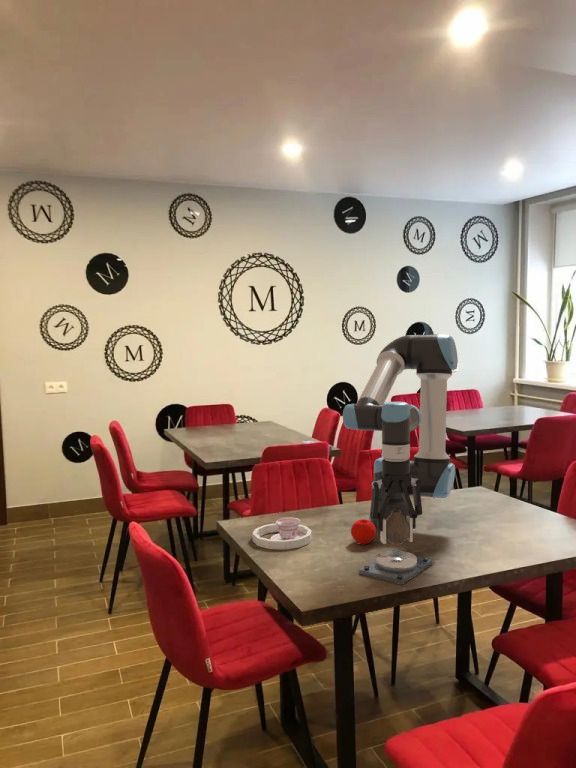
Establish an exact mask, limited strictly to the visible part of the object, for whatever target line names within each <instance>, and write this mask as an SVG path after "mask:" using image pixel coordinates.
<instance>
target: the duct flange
mask: <svg viewBox="0 0 576 768" xmlns="http://www.w3.org/2000/svg"><path fill="white" fill-rule="evenodd" d="M432 563H434V561H433V559H430V558H428V557H426V556H425V557H421V556H417V555H415V554H413V553H411V552H407V551H403V550H395V549H394V550H386V551H381V552H379V553H378V554H377V555H376V559H375V560H373V561H372V562H369V563H368V564H366V565H364V566H362V567H361V568H359V570H358V573H359V575H362V576H367V577H371V578H374V579H378V580H381V579H383V581H385V580H386V582H389V581H391V582H390V583H393V582H395V583H394V584H397V583H399V584H398V585H401V584H403V583H404V582H406V581H407V580H409V579H410V578H412V577H413V578H415V577H416V576H418V575H419V574H421V573H422V572H424V571H425V570H426V569H428V568H429V567H431V566H432V565H433V564H432ZM431 564H432V565H431ZM430 565H431V566H430ZM428 566H429V567H428ZM427 567H428V568H427ZM425 568H426V569H425ZM424 569H425V570H424ZM421 571H422V572H421ZM418 573H419V574H418ZM415 575H416V576H415ZM414 576H415V577H414ZM413 578H412V579H413ZM410 580H411V579H410ZM410 580H409V581H410ZM407 582H408V581H407ZM407 582H406V583H407ZM404 584H405V583H404ZM404 584H403V585H404Z"/></svg>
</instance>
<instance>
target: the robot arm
mask: <svg viewBox="0 0 576 768" xmlns="http://www.w3.org/2000/svg"><path fill="white" fill-rule="evenodd" d="M458 359H459V357H458V350H457V346H456V342H455V339H454V337H452V336H451V335H449V334H439V333H437V334H409V335H408V334H407V335H402V336H399V337H398V338H396V339H394V340H392V341H390V342H389V343H388V344H387V345H386V346H384V348H383V349H382V350H381V351H380V352H379V354H378V356H377V357H376V366H375V368H374V370H373V372H372V374H371V375H370V378H369V380H368V382H367V383H366V385H365V387H364V388H363V391H362V393H361V395H360V396H359V398H358V400H357V402H356V403H351V404H350V403H349V404H347V405H345V406H344V408H343V411H342V421H343V426H344V427H345V428H346V429H347V430H348V429H350V430H355V431H375V432H376V431H378V432H379V431H380V432H381V457H379V458H377V459H376V460H375V461H374V463H373V472H372V473H373V480H371V481H370V482H371V483H370V484H371V488H372V489H371V491H372V493H371V499H370V500H371V501H370V502H371V503H370V512H369V519H368V520H369V521H371V522H372V523H373V524H374V525H375V527H376V530H378V531H379V533H380V537H379V538H380V542H381V543H382V544H383V545H387V539H386V519H387V518H388V516H389V515H390V514H391V512H392V510H400V511H401V513H402V515H403V516H404V517H405V519H406V520H407V522H408V525H409V536H408V538H407V540H406V541H408V542H409V543H410V542H411V543H413V534H414V533H413V532H414V531H413V529H416V527H417V526H416V523H417V521H416V519H417V518H418V516H421V515H423V507H422V497H423V498H424V497H425V498H433V499H446V498H448V497H449V496H450V495H451V492H452V490H453V486H454V483H455V477H456V476H455V475H456V465H455V464H454V463H452V462H451V457H450V456H449V455H448V453H447V451H446V439H447V438H446V437H447V436H446V435H447V434H446V433H447V399H448V397H447V396H448V394H447V393H448V379H450V378H451V377H452V375H453V371H454V370H457V368H458V363H459V362H458ZM404 370H405V371H406V370H415V371H416V372H415V375H416V376H417V377H418V378H419V379H420V396H419V404H420V405H419V408H418V407H417V406H415V405H413V404H409V403H407V401H406V402H405V401H388V402H386V400H387V398H388V396H389V395H390V392H391V390H392V388H393V385H394V384H395V382H396V379H397V378H398V376H399V375H401V374H402V373H403V372H404ZM418 427H419V429H418V430H419V433H418V434H419V435H418V436H419V437H418V451H417V453H416V454H414V456H413V460H410V457H411V441H410V440H411V439H410V438H411V435H410V434H411V432H412V431H415V430H416V429H417V428H418ZM410 496H412V497H413V503H412V500H411V497H410ZM413 505H414V506H413Z"/></svg>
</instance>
